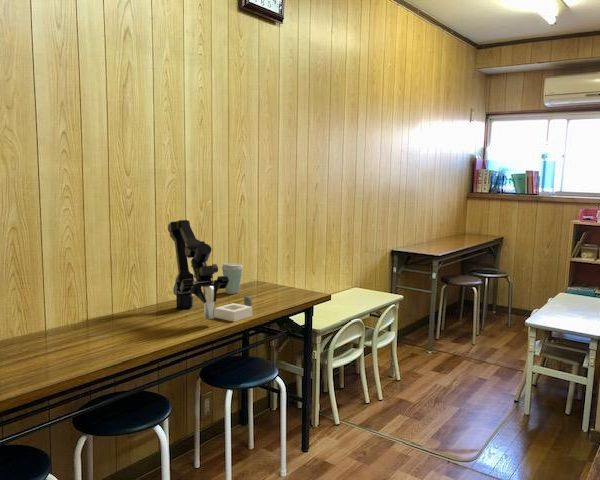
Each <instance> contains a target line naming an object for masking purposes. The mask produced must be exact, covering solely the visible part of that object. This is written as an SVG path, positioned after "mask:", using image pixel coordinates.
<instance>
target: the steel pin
mask: <svg viewBox="0 0 600 480" xmlns="http://www.w3.org/2000/svg"><path fill="white" fill-rule="evenodd" d="M203 295H204V298H205V303H203V319H205V320H212V319H215V302H214V286H212V285H207V286H204V287H203Z"/></svg>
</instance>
